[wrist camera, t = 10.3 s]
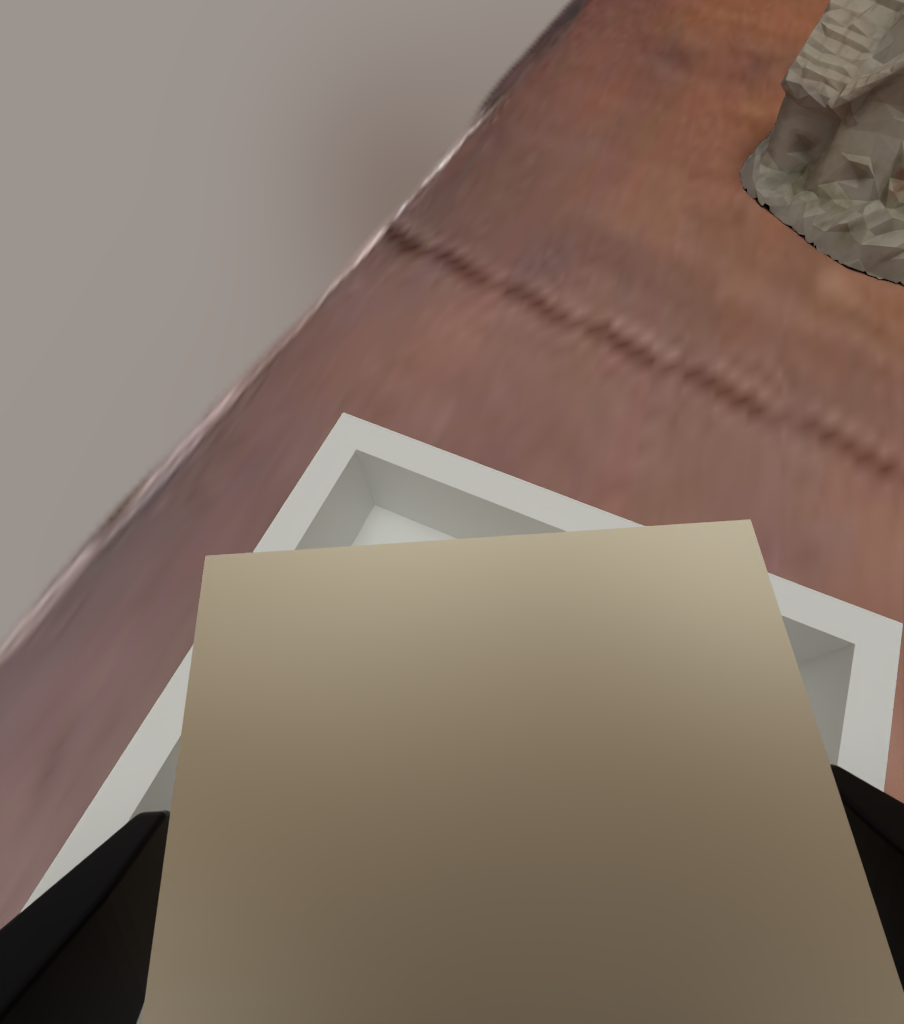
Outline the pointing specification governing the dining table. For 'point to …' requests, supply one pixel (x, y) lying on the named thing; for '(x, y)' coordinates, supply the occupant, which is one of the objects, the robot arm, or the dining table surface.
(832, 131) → the ceramic cottage
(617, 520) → the box
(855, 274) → the dining table surface
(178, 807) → the birch block
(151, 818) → the robot arm
